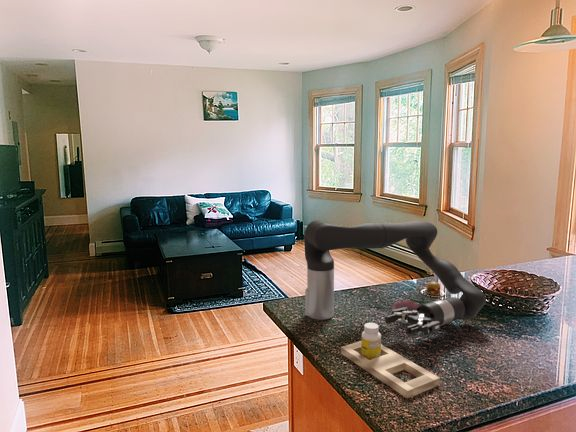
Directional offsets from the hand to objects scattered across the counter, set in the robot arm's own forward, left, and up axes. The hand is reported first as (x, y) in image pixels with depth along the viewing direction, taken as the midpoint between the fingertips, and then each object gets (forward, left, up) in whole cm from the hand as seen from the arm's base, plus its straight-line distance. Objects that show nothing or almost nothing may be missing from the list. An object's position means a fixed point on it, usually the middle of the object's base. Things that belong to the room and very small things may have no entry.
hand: (396, 325), depth 127 cm
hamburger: (+6, +53, -8) cm, 54 cm away
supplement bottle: (-6, -8, -8) cm, 12 cm away
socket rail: (-1, -11, -8) cm, 14 cm away
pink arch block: (0, +25, -8) cm, 26 cm away
